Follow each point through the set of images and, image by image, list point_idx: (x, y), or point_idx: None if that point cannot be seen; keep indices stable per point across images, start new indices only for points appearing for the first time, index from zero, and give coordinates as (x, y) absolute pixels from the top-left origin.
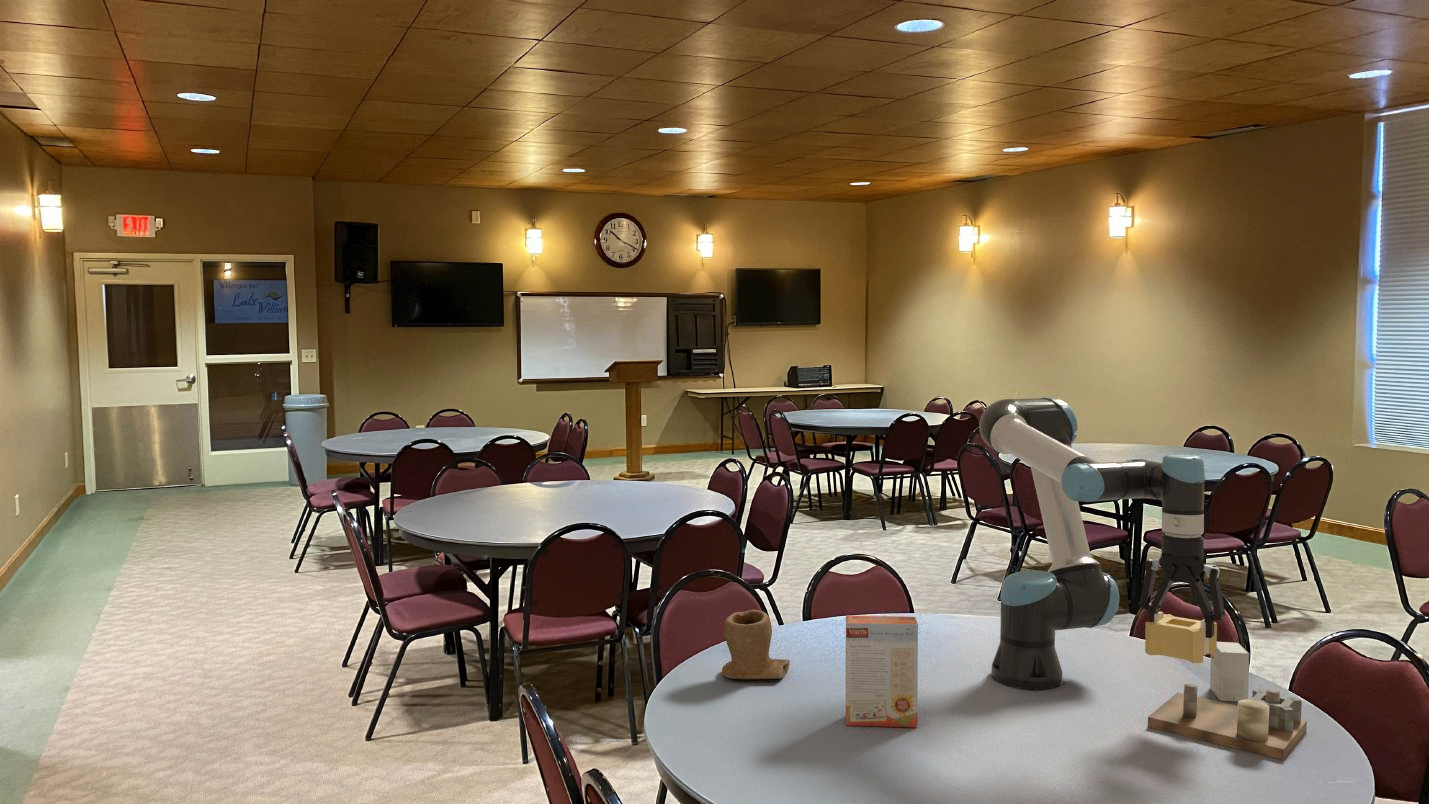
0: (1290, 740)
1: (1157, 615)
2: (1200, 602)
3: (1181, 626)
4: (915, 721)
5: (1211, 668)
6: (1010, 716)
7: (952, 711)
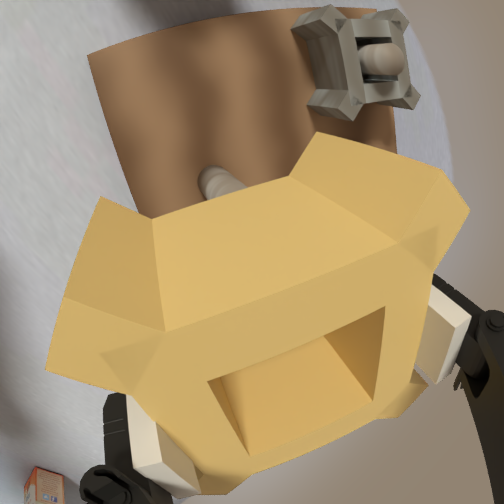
0: (394, 136)
1: (196, 490)
2: (499, 457)
3: (339, 424)
4: (63, 481)
5: None
6: (41, 407)
7: (16, 438)
